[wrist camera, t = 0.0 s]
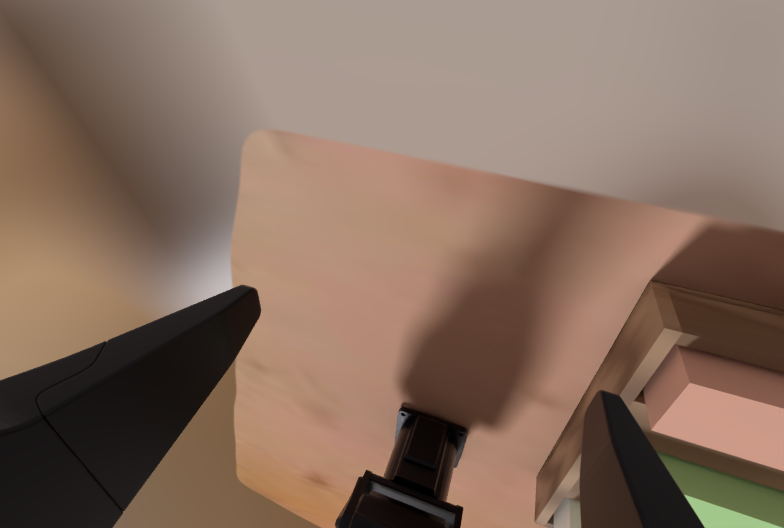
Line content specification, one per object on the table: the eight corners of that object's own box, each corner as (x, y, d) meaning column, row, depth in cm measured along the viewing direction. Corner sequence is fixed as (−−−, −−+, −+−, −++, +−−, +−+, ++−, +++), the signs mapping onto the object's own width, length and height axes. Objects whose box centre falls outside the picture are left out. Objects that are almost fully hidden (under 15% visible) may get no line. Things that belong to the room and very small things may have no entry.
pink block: (863, 434, 21) (914, 511, 18) (639, 371, 24) (651, 430, 21) (928, 388, 19) (1000, 468, 16) (671, 324, 21) (689, 382, 18)
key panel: (700, 534, 33) (714, 590, 30) (536, 476, 36) (534, 522, 33) (951, 348, 19) (1025, 418, 16) (650, 280, 22) (664, 328, 19)
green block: (764, 503, 26) (791, 572, 23) (588, 445, 29) (592, 501, 26) (805, 474, 24) (841, 547, 21) (610, 414, 26) (616, 471, 23)
